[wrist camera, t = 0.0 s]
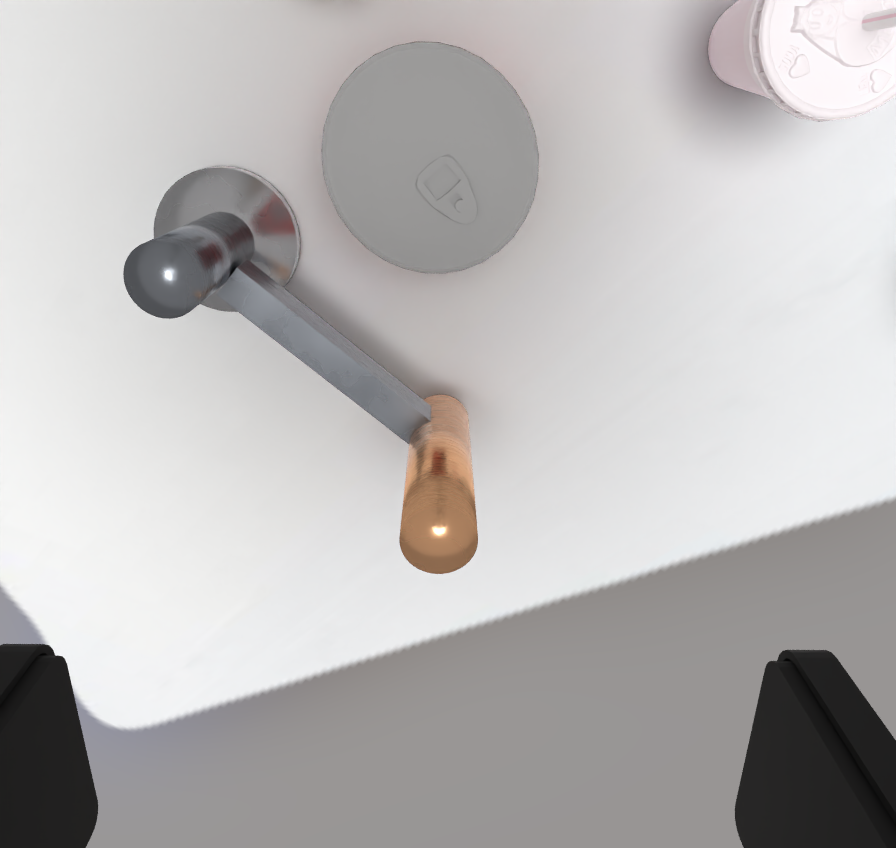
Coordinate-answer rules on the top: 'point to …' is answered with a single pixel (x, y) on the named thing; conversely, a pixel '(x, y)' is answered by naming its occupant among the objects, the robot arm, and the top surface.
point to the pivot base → (244, 200)
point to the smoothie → (809, 54)
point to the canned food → (430, 157)
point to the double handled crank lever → (325, 374)
